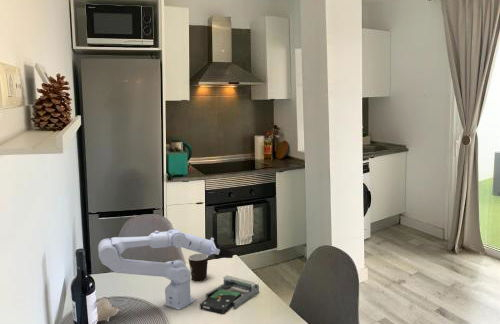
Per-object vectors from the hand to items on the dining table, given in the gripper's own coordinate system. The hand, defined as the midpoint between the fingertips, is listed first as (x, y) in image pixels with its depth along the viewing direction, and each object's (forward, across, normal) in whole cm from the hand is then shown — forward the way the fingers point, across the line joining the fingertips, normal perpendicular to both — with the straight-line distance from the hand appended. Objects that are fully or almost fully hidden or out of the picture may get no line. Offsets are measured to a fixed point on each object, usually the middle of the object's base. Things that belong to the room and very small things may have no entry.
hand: (229, 253), depth 165 cm
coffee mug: (0, +22, +16) cm, 27 cm away
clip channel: (+7, -2, +15) cm, 17 cm away
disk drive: (+1, -5, +19) cm, 20 cm away
